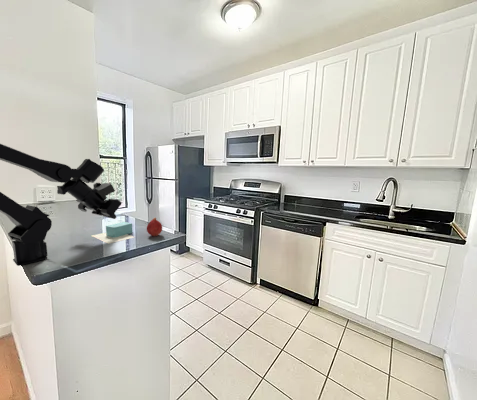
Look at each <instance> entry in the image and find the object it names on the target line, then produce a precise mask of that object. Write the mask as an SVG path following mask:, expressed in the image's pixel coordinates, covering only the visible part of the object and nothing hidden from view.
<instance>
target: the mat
mask: <svg viewBox="0 0 477 400" xmlns="http://www.w3.org/2000/svg"><path fill="white" fill-rule="evenodd" d="M91 237H92V238H95V239H97V240H99V241H102V242H104V243H106V244H109V245H110V244H114V243H117V242H122V241H126V240H130V239H134V238H135V236H133V235H130V234H126V235H123V236H119V237H115V238H113V237H109V236H106V232H103V233H96V234H93V235H91Z"/></svg>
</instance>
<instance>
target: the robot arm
mask: <svg viewBox="0 0 477 400" xmlns="http://www.w3.org/2000/svg"><path fill="white" fill-rule="evenodd" d="M0 161H2V162H5V163H8V164H11V165H15V166H16V167H19V168H22V169H25V170H29V171H30V172H32V173H34V174H35V175H37V176H39V177H41V178H43V179H45V180H47V181H49V182H52V183H61V184H62V185H57V186H56V189H57V192H56V194H57V195H66V194H70V195H71V196H72V197H73V198H75V199H76V202H77V203H78V205H77V209H78V210H80V212H85V213H87V211H88V210H89V211H90V210H91V214H92V215H97V216H100V217H105V218H109V219H113V220H116V218H117V215H116V212H117V211H118V209H119V208H120V207H121V205H122V203H123V202H122V201H120V200H119V199H117V198H109V199H107V198H108V195H110V194H112V193H114V192H116V190H115V187H114V186H113V184H112V183H111V182H110V183H109V182H104V183H101V182H96V181H97V180H98V179H99V178H100V177H101V175H102V174H103V173H104V172H105V170H104V168H103V166H101V165H100V164H98V163H96V162H95V161H92V160H91V159H90V158H85V159H84V160H83V161H82V163H81V164H80V165H79V166H77V168H71V166H69V165H67V164H64V163H59V162H56V161H50V160H47V159H41V158H38V157H36V156H33V155H30V154H28V153H25V152H23V151H21V150H18V149H15V148H13V147H10V146H8V145H6V144H3V143H0ZM90 183H91V184H93V188H92V187H91V186H89V184H90ZM0 213H2V214H3V215H5V216H6V218H8V219H9V220H10V221H11V222H12V224H14V225H15V226H14V227H13V228H12V229H11V230H10V231H8V233H7V235H8V237H9V238H10V239H11V240H12V242H11V245H12V251H13V256H14V257H13V259H12V261H13V262H14V264H15V265H16V266H17V267H19V266H20V267H21V266H23V265H24V266H25V265H28V264H32V263H36V262H40V261H44V260H48V248H47V247H48V246H47V242H46V241H45V240H46V238H47V235H48V232H49V231H50V230H51V228H52V226H53V225H52V219H50V214H47V213H45V212H43V211H42V210H41V209H40V208H39V207H37V206H34V205H29V204H27V205H26V206H23V205H21V204H19V202H17V201H15V200H13V199H12V198H11V197H9V196H7V195H6V194H4V193H2V192H1V191H0Z"/></svg>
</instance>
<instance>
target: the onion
mask: <svg viewBox="0 0 477 400" xmlns="http://www.w3.org/2000/svg"><path fill="white" fill-rule="evenodd" d="M162 231H163V224H162V222H160V221H159V220H158V219H157V218H156V217H153V218H152V220H150V221H148V224H147V226H146V232H147V234H149V235H150V236H152V237H157V236H159V235H160V234H161V233H162Z"/></svg>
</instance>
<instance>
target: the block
mask: <svg viewBox="0 0 477 400" xmlns="http://www.w3.org/2000/svg"><path fill="white" fill-rule="evenodd" d="M133 230H134V229H133V223H131V222H127V221H126V222H125V221H122V222H117V223H114V224H113V223H112V224H108V225H105V233H106V236H109V237H113V238H115V237H119V236H123V235H126V234H128V235H130V234H133V233H134V232H133Z"/></svg>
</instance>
